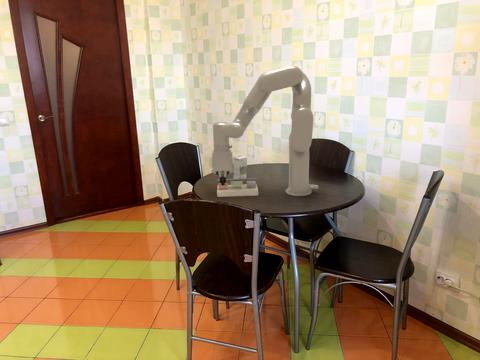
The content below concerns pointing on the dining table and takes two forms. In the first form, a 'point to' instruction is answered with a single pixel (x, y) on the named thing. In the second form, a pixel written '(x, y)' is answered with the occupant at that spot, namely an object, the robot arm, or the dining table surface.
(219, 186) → the terracotta key
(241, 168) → the syrup box
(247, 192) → the keypad
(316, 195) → the dining table surface
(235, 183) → the sage key
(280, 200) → the dining table surface
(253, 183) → the grey key
